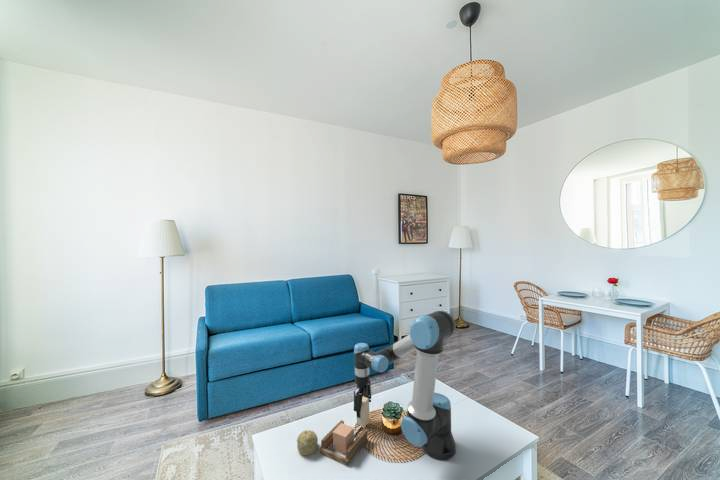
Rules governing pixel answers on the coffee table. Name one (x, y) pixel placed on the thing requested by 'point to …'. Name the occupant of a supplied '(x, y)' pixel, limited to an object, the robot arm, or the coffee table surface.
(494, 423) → the coffee table surface
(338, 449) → the pair of rectangular blocks
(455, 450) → the robot arm
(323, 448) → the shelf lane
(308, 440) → the decorative object
